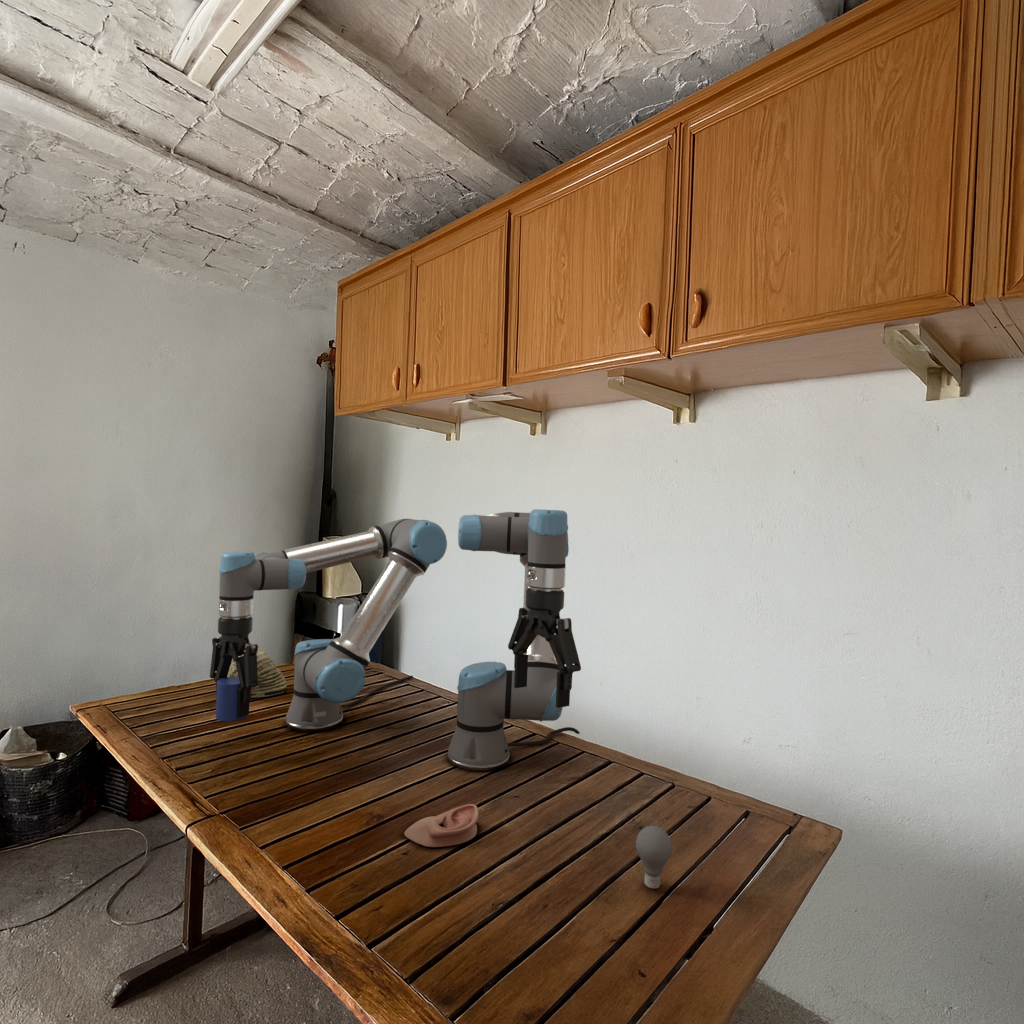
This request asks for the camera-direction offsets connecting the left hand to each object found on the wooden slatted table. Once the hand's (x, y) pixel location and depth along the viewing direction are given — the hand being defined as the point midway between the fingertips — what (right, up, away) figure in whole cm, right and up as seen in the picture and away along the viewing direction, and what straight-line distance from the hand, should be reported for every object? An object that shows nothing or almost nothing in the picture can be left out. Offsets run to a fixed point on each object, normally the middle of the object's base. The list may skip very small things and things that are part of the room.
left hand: (232, 712), depth 151 cm
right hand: (+72, +12, -27) cm, 78 cm away
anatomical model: (+53, -14, -29) cm, 62 cm away
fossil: (-14, -10, +47) cm, 50 cm away
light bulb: (+90, -16, -44) cm, 102 cm away
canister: (0, -1, 0) cm, 1 cm away
